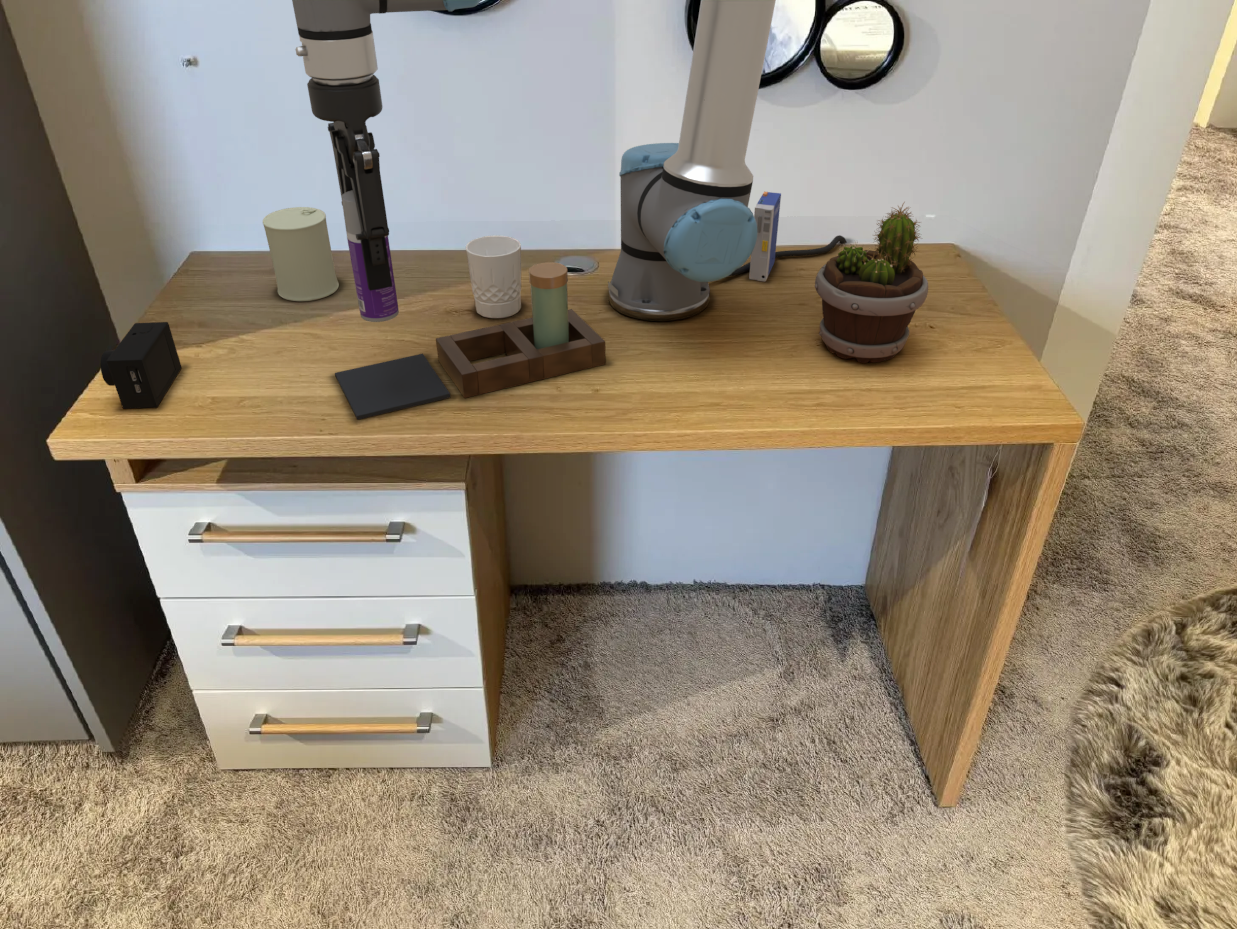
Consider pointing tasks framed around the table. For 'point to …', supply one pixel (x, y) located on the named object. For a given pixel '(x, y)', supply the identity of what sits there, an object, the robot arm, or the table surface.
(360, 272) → the container
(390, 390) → the mat
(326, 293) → the can
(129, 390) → the digital camera
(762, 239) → the walkman
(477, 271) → the white cup
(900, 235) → the flowerpot
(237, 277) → the table surface
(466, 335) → the bottle rack
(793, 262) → the table surface
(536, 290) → the spice jar
